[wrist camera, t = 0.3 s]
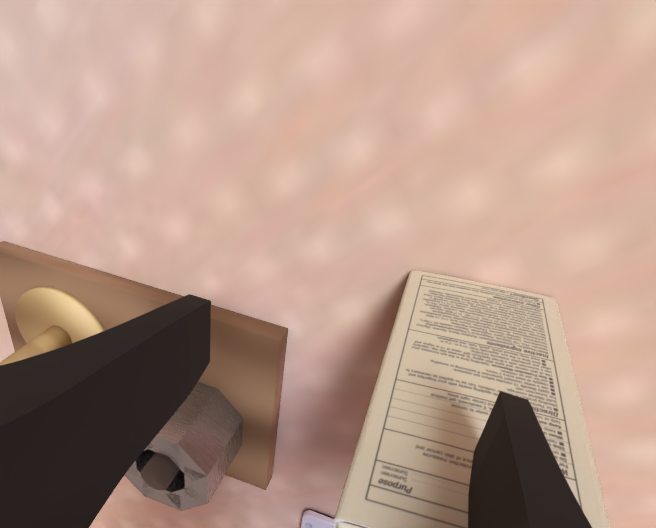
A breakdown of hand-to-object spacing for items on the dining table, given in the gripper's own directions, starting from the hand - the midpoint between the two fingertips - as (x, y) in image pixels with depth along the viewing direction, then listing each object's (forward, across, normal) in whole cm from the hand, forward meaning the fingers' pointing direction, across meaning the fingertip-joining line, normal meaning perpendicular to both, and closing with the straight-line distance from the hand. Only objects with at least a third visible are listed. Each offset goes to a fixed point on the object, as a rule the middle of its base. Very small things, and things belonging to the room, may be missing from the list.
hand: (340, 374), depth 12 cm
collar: (+9, +9, +15) cm, 19 cm away
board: (+10, +14, +13) cm, 21 cm away
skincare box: (+10, -4, +4) cm, 11 cm away
